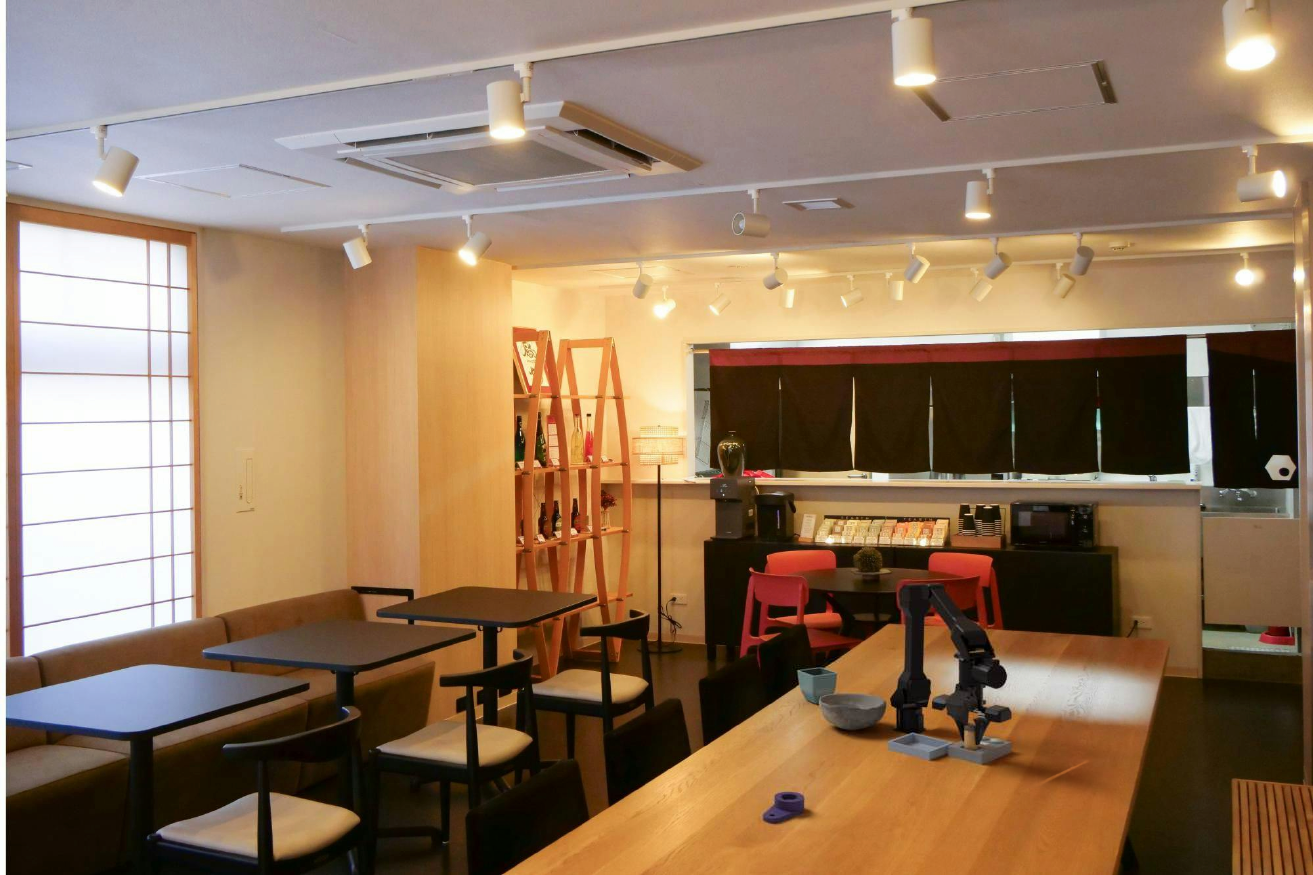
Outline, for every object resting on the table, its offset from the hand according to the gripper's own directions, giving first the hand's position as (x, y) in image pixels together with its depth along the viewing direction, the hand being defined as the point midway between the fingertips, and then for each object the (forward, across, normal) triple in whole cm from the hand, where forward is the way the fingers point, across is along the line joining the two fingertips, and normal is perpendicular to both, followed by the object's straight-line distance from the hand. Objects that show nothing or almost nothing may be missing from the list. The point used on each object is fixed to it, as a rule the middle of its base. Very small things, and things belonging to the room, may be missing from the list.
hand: (971, 743), depth 259 cm
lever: (+5, -8, -61) cm, 62 cm away
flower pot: (+4, -61, +17) cm, 63 cm away
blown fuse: (+4, 0, 0) cm, 4 cm away
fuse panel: (+4, 0, +4) cm, 6 cm away
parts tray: (+4, -12, -4) cm, 13 cm away
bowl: (+4, -37, +2) cm, 37 cm away
